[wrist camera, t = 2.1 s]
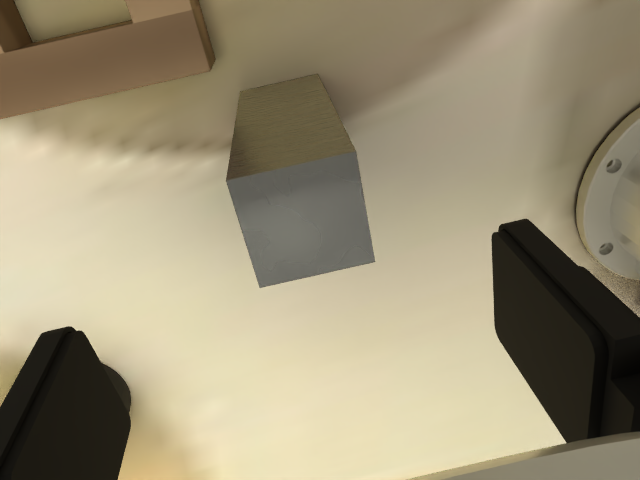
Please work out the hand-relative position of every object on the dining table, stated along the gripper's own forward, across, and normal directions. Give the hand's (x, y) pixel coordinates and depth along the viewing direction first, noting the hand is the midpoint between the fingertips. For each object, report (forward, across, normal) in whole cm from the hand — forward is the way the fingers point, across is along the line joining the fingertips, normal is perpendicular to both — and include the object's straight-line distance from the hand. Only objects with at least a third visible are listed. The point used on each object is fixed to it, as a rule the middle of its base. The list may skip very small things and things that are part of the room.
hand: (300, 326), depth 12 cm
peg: (+17, -1, 0) cm, 17 cm away
